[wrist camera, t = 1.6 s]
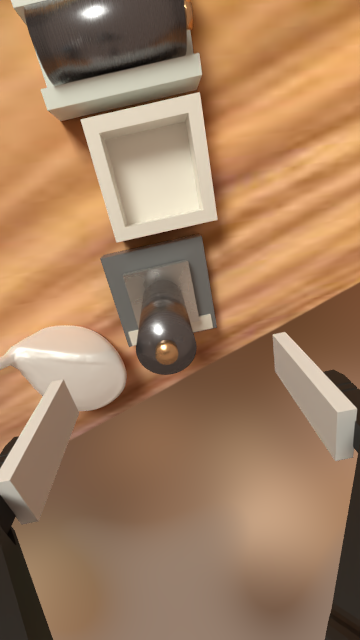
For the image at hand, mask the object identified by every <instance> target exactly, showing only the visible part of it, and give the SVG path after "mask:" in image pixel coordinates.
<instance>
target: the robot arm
mask: <svg viewBox="0 0 360 640" xmlns="http://www.w3.org/2000/svg"><path fill="white" fill-rule="evenodd" d="M273 345H274V346H273V347H274V360H275V372H276V373H277V375H278V376H279V378H280V379H281V381H282V382H283V384H284V385H285V387H286V388H287V389H288V391H289V393H290V394H291V396H292V397H293V399H294V400H295V402H296V403H297V405H298V406H299V408H300V409H301V411H302V412H303V413H304V415H305V417H306V418H307V420H308V421H309V422H310V424H311V426H312V427H313V429H314V430H315V432H316V433H317V435H318V436H319V438H320V439H321V441H322V442H323V443H324V445H325V446H326V448H327V450H328V451H329V452H330V454H331V455H332V457H333V458H334V460H335V461H338V460H343V459H348V458H353V451H354V449H355V450H356V451H357V452H358V458H357V464H356V470H355V476H354V482H353V487H352V493H351V499H350V505H349V511H348V516H347V522H346V528H345V534H344V540H343V545H342V551H341V557H340V563H339V569H338V575H337V580H336V586H335V593H334V598H333V604H332V609H331V613H330V617H329V621H328V626H327V631H326V637H325V640H360V390H359V389H357V387H356V386H355V385H354V384H353V383H351V381H350V380H349V379H348V378H347V377H346V376H345V375H343V374H341V373H339V372H337V371H335V370H330V371H325V372H322V371H321V370H320V369H319V368H318V366H317V365H316V364H314V362H313V361H312V360H311V359H310V358H309V357H308V356H307V355H306V354H305V353H304V352H303V351H302V349H301V348H300V347H299V346H298V345H297V344H296V343H295V342H294V341H293V340H292V339H291V338H290V337H289V336H288V335H287V334H286V333H285V332H283V333H278V334H273ZM78 415H79V411H78V409H77V407H76V405H75V403H74V401H73V398H72V396H71V394H70V392H69V390H68V388H67V386H66V383H65V381H64V379H62V380H58V381H53V382H51V384H50V385H49V387H48V389H47V390H46V392H45V394H44V395H43V397H42V399H41V400H40V402H39V404H38V406H37V407H36V409H35V411H34V412H33V414H32V416H31V417H30V419H29V421H28V422H27V424H26V426H25V428H24V429H23V431H22V433H21V434H20V436H18V437H14V438H13V439H12V440H11V441H10V442H9V443H8V444H7V445H6V446H5V447H4V449H3V451H2V452H1V454H0V640H53V638H52V635H51V632H50V630H49V627H48V624H47V621H46V618H45V616H44V613H43V610H42V607H41V604H40V602H39V599H38V596H37V593H36V590H35V587H34V584H33V582H32V579H31V576H30V573H29V570H28V567H27V564H26V562H25V559H24V556H23V553H22V550H21V547H20V544H19V542H18V539H17V536H16V533H15V530H14V529H13V528H12V527H11V525H12V523H13V521H14V519H15V517H16V518H17V519H18V521H19V522H20V523H21V524H27V523H32V522H36V521H38V520H39V518H40V516H41V513H42V510H43V508H44V505H45V502H46V500H47V497H48V494H49V491H50V489H51V486H52V484H53V481H54V478H55V476H56V473H57V471H58V468H59V465H60V463H61V460H62V457H63V454H64V452H65V449H66V447H67V444H68V441H69V439H70V436H71V433H72V431H73V428H74V425H75V423H76V420H77V417H78Z"/></svg>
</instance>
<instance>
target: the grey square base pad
mask: <svg viewBox="0 0 360 640" xmlns="http://www.w3.org/2000/svg"><path fill="white" fill-rule="evenodd" d="M100 259H101V262H102V265H103V269H104V272H105V275H106V278H107V281H108V284H109V287H110V290H111V293H112V296H113V299H114V302H115V305H116V308H117V311H118V314H119V318H120V321H121V324H122V327H123V330H124V333H125V336H126V339H127V342H128V345H129V347H131V346H135V345H136V344H137V336H138V329H139V328H138V325H137V322H136V318H135V315H134V312H133V308H132V305H131V302H130V298H129V295H128V292H127V288H126V285H125V282H124V278H123V274H124V273H128V272H132V271H137V270H141V269H146V268H150V267H155V266H159V265H164V264H168V263H173V262H177V261H182V260H186V259H187V260H188V263H189V268H190V274H191V279H192V284H193V289H194V294H195V300H196V305H197V310H198V315H199V320H200V321H197V322H192V323H191V327H192V330H193V333H194V332H199V331H203V330H208V329H213V328H217V325H216V319H215V313H214V307H213V301H212V295H211V289H210V283H209V277H208V271H207V265H206V259H205V253H204V247H203V241H202V236H201V235H200V234H196V235H192V236H187V237H183V238H178V239H174V240H169V241H165V242H160V243H156V244H151V245H147V246H142V247H138V248H134V249H129V250H125V251H120V252H116V253H111V254H107V255H103V256H102V257H101V258H100Z"/></svg>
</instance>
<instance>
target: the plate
mask: <svg viewBox="0 0 360 640" xmlns="http://www.w3.org/2000/svg"><path fill="white" fill-rule="evenodd" d="M123 278H124V282H125V285H126V288H127V292H128V295H129V298H130V302H131V305H132V308H133V312H134V315H135V318H136V322H137V325H138V328H139V322H140V314H141V307H142V299H143V294H144V291H145V289H146V288H147V287H148V286H149V285H150V284H151V283H153V282H155V281H158V280H168V281H171V282H173V283H175V284H176V285H177V286H178V287H179V288H180V290H181V292H182V295H183V298H184V302H185V306H186V309H187V313H188V316H189V320H190V323H192V322H197V321H200V320H199V315H198V310H197V305H196V300H195V294H194V289H193V284H192V279H191V274H190V268H189V263H188V260H187V259H186V260H182V261H177V262H173V263H168V264H164V265H159V266H155V267H150V268H146V269H141V270H137V271H132V272H128V273H124V274H123Z"/></svg>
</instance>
